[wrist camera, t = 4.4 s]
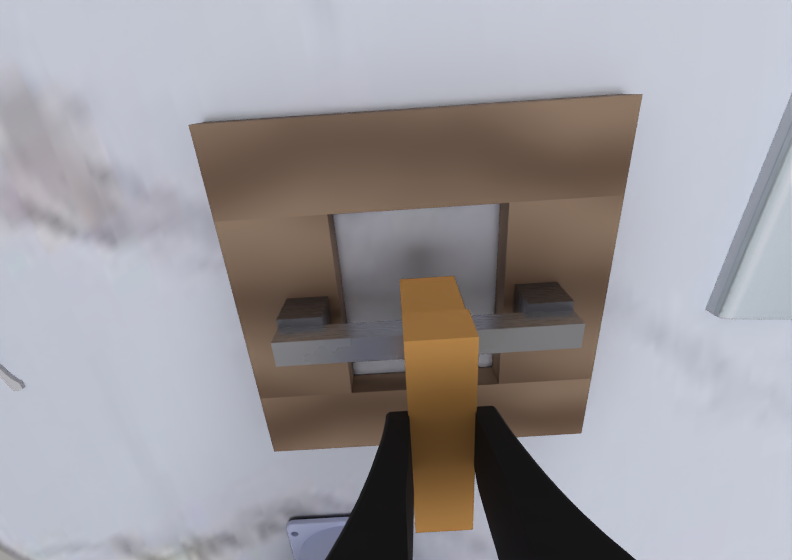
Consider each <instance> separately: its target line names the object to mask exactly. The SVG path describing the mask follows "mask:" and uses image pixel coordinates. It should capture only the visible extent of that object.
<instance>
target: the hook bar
mask: <svg viewBox="0 0 792 560" xmlns="http://www.w3.org/2000/svg"><path fill="white" fill-rule="evenodd" d="M573 307H574V300H573V299H572V298H571V297H570V296H569V295H568V294H567V292H566V291H565V290H564V289H563V288H562V287H561V286H560V285H559V283H558V282H541V283H526V284H515V292H514V306H513V313H506V314H490V315H474V316H472V319H473V322H474V325H475V327H476V330H477V333H478V336H479V354H490V353H507V352H523V351H539V350H555V349H572V348H581V347H582V341H583V335H584V329H585V323H584V322H583V320H582V319H581V318H580V317H579V316H578V314H577V313H576V312H575V311H574V310H573ZM276 322H277V326H278V329H277V331H276V333H275V335H274V337H273V339H272V342H271V347H272V351H273V355H274V359H275V364H276V367H279V366H295V365H312V364H328V363H344V362H360V361H377V360H393V359H405V357H404V341H403V325H402V320H394V321H378V322H362V323H346V324H332V320H331V313H330V307H329V300H328V296H320V297H304V298H288V299H286V301H285V303H284V305H283V307H282V309H281V311H280V313H279V315H278V317H277V319H276Z"/></svg>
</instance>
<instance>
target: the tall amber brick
mask: <svg viewBox="0 0 792 560" xmlns="http://www.w3.org/2000/svg"><path fill="white" fill-rule="evenodd" d="M400 293H401V309H402V325H403V341H404V357H405V372H406V388H407V404H408V416H409V419H410V434H411V450H412V466H413V482H414V514H415V530H416V533H422V532H439V531H457V530H473V510H474V479H475V469H474V446H475V414H476V412H477V385H478V354H479V336H478V333H477V330H476V327H475V325H474V322H473V319H472V316H471V314H470V311H469V309H465V306H464V303H463V300H462V298H461V295H460V292H459V289H458V286H457V283H456V281H455V278H454V276H445V277H429V278H413V279H400Z"/></svg>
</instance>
